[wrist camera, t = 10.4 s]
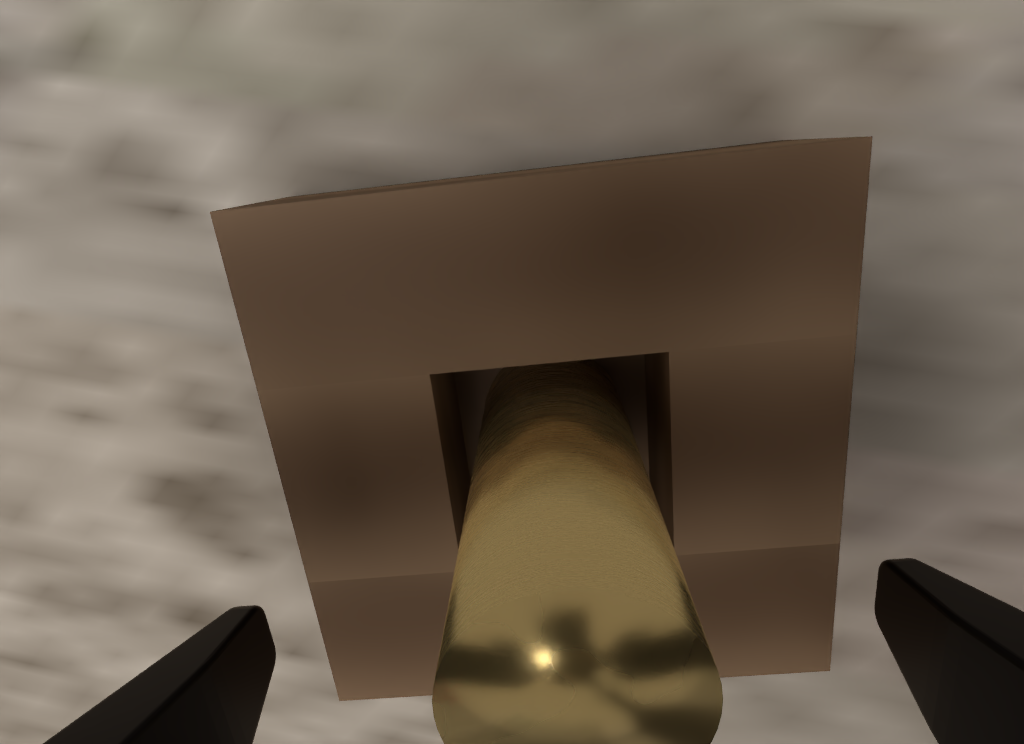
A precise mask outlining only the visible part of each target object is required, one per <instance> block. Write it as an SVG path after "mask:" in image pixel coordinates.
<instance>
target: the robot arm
mask: <svg viewBox="0 0 1024 744" xmlns="http://www.w3.org/2000/svg"><path fill="white" fill-rule="evenodd" d="M875 615H876V619H877V622H878V625H879V627H880V629H881V631H882V633H883V635H884V637H885V639H886V641H887V644H888V646H889V648H890V650H891V652H892V654H893V656H894V658H895V660H896V662H897V664H898V666H899V668H900V670H901V672H902V674H903V676H904V678H905V680H906V682H907V684H908V686H909V688H910V690H911V692H912V694H913V696H914V698H915V700H916V702H917V704H918V706H919V708H920V711H921V713H922V714H923V716H924V718H925V720H926V722H927V724H928V726H929V728H930V730H931V732H932V733H933V735H934V737H935V738H936V740H937V742H938V743H939V744H1024V612H1023V611H1021V610H1019V609H1017V608H1015V607H1013V606H1011V605H1009V604H1007V603H1005V602H1003V601H1001V600H999V599H997V598H994V597H992V596H990V595H988V594H986V593H984V592H982V591H980V590H978V589H976V588H974V587H972V586H970V585H968V584H966V583H964V582H962V581H960V580H958V579H955V578H953V577H951V576H949V575H947V574H945V573H943V572H941V571H939V570H937V569H935V568H933V567H931V566H929V565H927V564H925V563H923V562H921V561H918V560H916V559H912V558H904V559H891V560H885V561H883V562H882V563H881V564H880V566H879V571H878V580H877V589H876V598H875ZM275 659H276V651H275V645H274V642H273V639H272V635H271V632H270V629H269V625H268V622H267V619H266V615H265V613H264V610H263V609H262V608H261V607H259V606H256V605H254V606H239V607H233V608H231V609H229V610H228V611H226V612H225V613H224V614H222V615H221V616H219V617H218V618H217V619H215V620H214V621H213V622H211V623H210V624H208V625H207V626H206V627H204V628H203V629H201V630H200V631H199V632H197V633H196V634H195V635H193V636H192V637H190V638H189V639H188V640H186V641H185V642H183V643H182V644H181V645H179V646H178V647H176V648H175V649H174V650H172V651H171V652H170V653H168V654H167V655H165V656H164V657H163V658H161V659H160V660H158V661H157V662H156V663H154V664H153V665H151V666H150V667H149V668H147V669H146V670H145V671H143V672H142V673H140V674H139V675H138V676H136V677H135V678H133V679H132V680H131V681H129V682H128V683H126V684H125V685H124V686H122V687H121V688H120V689H118V690H117V691H115V692H114V693H113V694H111V695H110V696H108V697H107V698H106V699H104V700H103V701H101V702H100V703H99V704H97V705H96V706H95V707H93V708H92V709H90V710H89V711H88V712H86V713H85V714H83V715H82V716H81V717H79V718H78V719H76V720H75V721H74V722H72V723H71V724H70V725H68V726H67V727H65V728H64V729H63V730H61V731H60V732H58V733H57V734H56V735H54V736H53V737H51V738H50V739H49V740H47V741H46V742H45V743H43V744H252V743H253V740H254V736H255V733H256V729H257V726H258V722H259V719H260V715H261V712H262V708H263V705H264V701H265V698H266V694H267V690H268V687H269V683H270V680H271V676H272V673H273V669H274V665H275Z"/></svg>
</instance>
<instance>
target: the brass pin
mask: <svg viewBox="0 0 1024 744" xmlns="http://www.w3.org/2000/svg"><path fill="white" fill-rule="evenodd" d="M432 704H433V713H434V719H435V722H436V726H437V729H438V732H439V734H440V736H441V738H442V740H443V742H444V744H710V743H711V742H712V740H713V738H714V735H715V733H716V731H717V729H718V725H719V722H720V718H721V714H722V704H723V695H722V685H721V681H720V677H719V673H718V670H717V667H716V664H715V661H714V658H713V656H712V653H711V650H710V647H709V644H708V642H707V639H706V636H705V633H704V631H703V628H702V625H701V622H700V619H699V617H698V614H697V611H696V608H695V605H694V603H693V600H692V597H691V594H690V592H689V589H688V586H687V583H686V580H685V578H684V575H683V572H682V569H681V566H680V564H679V561H678V558H677V555H676V552H675V550H674V547H673V544H672V541H671V539H670V536H669V533H668V530H667V527H666V525H665V522H664V519H663V516H662V513H661V511H660V508H659V505H658V502H657V500H656V497H655V494H654V491H653V488H652V486H651V483H650V480H649V477H648V474H647V472H646V469H645V466H644V463H643V461H642V458H641V455H640V452H639V449H638V447H637V444H636V441H635V438H634V435H633V433H632V430H631V427H630V424H629V421H628V419H627V416H626V413H625V410H624V408H623V405H622V402H621V399H620V396H619V394H618V391H617V388H616V386H615V384H614V382H613V380H612V379H611V377H610V375H609V374H608V373H607V372H606V371H605V369H604V368H603V367H602V366H601V365H599V364H598V363H597V362H596V361H594V360H593V359H588V360H577V361H566V362H556V363H545V364H535V365H524V366H514V367H504V368H503V369H502V370H501V371H500V372H499V373H498V374H497V376H496V377H495V378H494V380H493V382H492V384H491V386H490V388H489V391H488V393H487V397H486V402H485V407H484V413H483V418H482V423H481V429H480V434H479V440H478V445H477V451H476V456H475V462H474V467H473V473H472V478H471V483H470V489H469V494H468V500H467V505H466V511H465V516H464V522H463V527H462V533H461V538H460V543H459V549H458V554H457V560H456V565H455V571H454V576H453V582H452V587H451V593H450V598H449V603H448V609H447V614H446V620H445V625H444V631H443V636H442V642H441V647H440V653H439V658H438V663H437V669H436V674H435V680H434V685H433V697H432Z"/></svg>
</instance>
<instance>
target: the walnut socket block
mask: <svg viewBox="0 0 1024 744" xmlns="http://www.w3.org/2000/svg"><path fill="white" fill-rule="evenodd" d="M871 147H872V136H871V137H849V138H826V139H803V140H782V141H773V142H765V143H756V144H747V145H739V146H730V147H721V148H712V149H704V150H695V151H686V152H677V153H669V154H660V155H651V156H643V157H634V158H625V159H616V160H608V161H599V162H590V163H581V164H573V165H564V166H555V167H546V168H538V169H529V170H520V171H512V172H503V173H494V174H485V175H477V176H468V177H459V178H450V179H442V180H433V181H424V182H416V183H407V184H398V185H389V186H381V187H372V188H363V189H354V190H346V191H337V192H328V193H319V194H311V195H302V196H293V197H286V198H281V199H276V200H270V201H265V202H260V203H254V204H249V205H244V206H239V207H233V208H228V209H223V210H217V211H212V212H210V214H211V218H212V222H213V225H214V229H215V233H216V237H217V241H218V244H219V248H220V252H221V256H222V259H223V263H224V267H225V271H226V274H227V278H228V282H229V286H230V290H231V293H232V297H233V301H234V305H235V308H236V312H237V316H238V320H239V324H240V327H241V331H242V335H243V339H244V342H245V346H246V350H247V354H248V357H249V361H250V365H251V369H252V373H253V376H254V380H255V384H256V388H257V391H258V395H259V399H260V403H261V406H262V410H263V414H264V418H265V422H266V425H267V429H268V433H269V437H270V440H271V444H272V448H273V452H274V455H275V459H276V463H277V467H278V471H279V474H280V478H281V482H282V486H283V489H284V493H285V497H286V501H287V504H288V508H289V512H290V516H291V520H292V523H293V527H294V531H295V535H296V538H297V542H298V546H299V550H300V554H301V557H302V561H303V565H304V569H305V572H306V576H307V580H308V584H309V587H310V591H311V595H312V599H313V603H314V606H315V610H316V614H317V618H318V621H319V625H320V629H321V633H322V636H323V640H324V644H325V648H326V652H327V655H328V659H329V663H330V667H331V670H332V674H333V678H334V682H335V685H336V689H337V693H338V697H339V701H345V700H361V699H378V698H394V697H410V696H426V695H433V685H434V680H435V674H436V669H437V663H438V658H439V653H440V647H441V642H442V636H443V631H444V625H445V620H446V614H447V609H448V603H449V598H450V593H451V587H452V582H453V576H454V571H455V565H456V560H457V554H458V549H459V543H460V538H461V533H462V527H463V522H464V516H465V511H466V505H467V500H468V494H469V489H470V483H471V478H472V473H473V467H474V462H475V456H476V451H477V445H478V440H479V434H480V429H481V423H482V418H483V413H484V407H485V402H486V397H487V393H488V391H489V388H490V386H491V384H492V382H493V380H494V378H495V377H496V376H497V374H498V373H499V372H500V371H501V370H502V369H503V368H504V367H514V366H524V365H535V364H545V363H556V362H566V361H577V360H588V359H593V360H594V361H596V362H597V363H598V364H599V365H601V366H602V367H603V368H604V369H605V371H606V372H607V373H608V374H609V375H610V377H611V379H612V380H613V382H614V384H615V386H616V388H617V391H618V394H619V396H620V399H621V402H622V405H623V408H624V410H625V413H626V416H627V419H628V421H629V424H630V427H631V430H632V433H633V435H634V438H635V441H636V444H637V447H638V449H639V452H640V455H641V458H642V461H643V463H644V466H645V469H646V472H647V474H648V477H649V480H650V483H651V486H652V488H653V491H654V494H655V497H656V500H657V502H658V505H659V508H660V511H661V513H662V516H663V519H664V522H665V525H666V527H667V530H668V533H669V536H670V539H671V541H672V544H673V547H674V550H675V552H676V555H677V558H678V561H679V564H680V566H681V569H682V572H683V575H684V578H685V580H686V583H687V586H688V589H689V592H690V594H691V597H692V600H693V603H694V605H695V608H696V611H697V614H698V617H699V619H700V622H701V625H702V628H703V631H704V633H705V636H706V639H707V642H708V644H709V647H710V650H711V653H712V656H713V658H714V661H715V664H716V667H717V670H718V673H719V677H736V676H752V675H768V674H785V673H801V672H817V671H830V663H831V650H832V638H833V625H834V613H835V600H836V587H837V575H838V562H839V550H840V537H841V524H842V512H843V499H844V487H845V474H846V461H847V449H848V436H849V424H850V411H851V399H852V386H853V373H854V361H855V348H856V336H857V323H858V310H859V298H860V285H861V273H862V260H863V248H864V235H865V222H866V210H867V197H868V185H869V172H870V159H871Z"/></svg>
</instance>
